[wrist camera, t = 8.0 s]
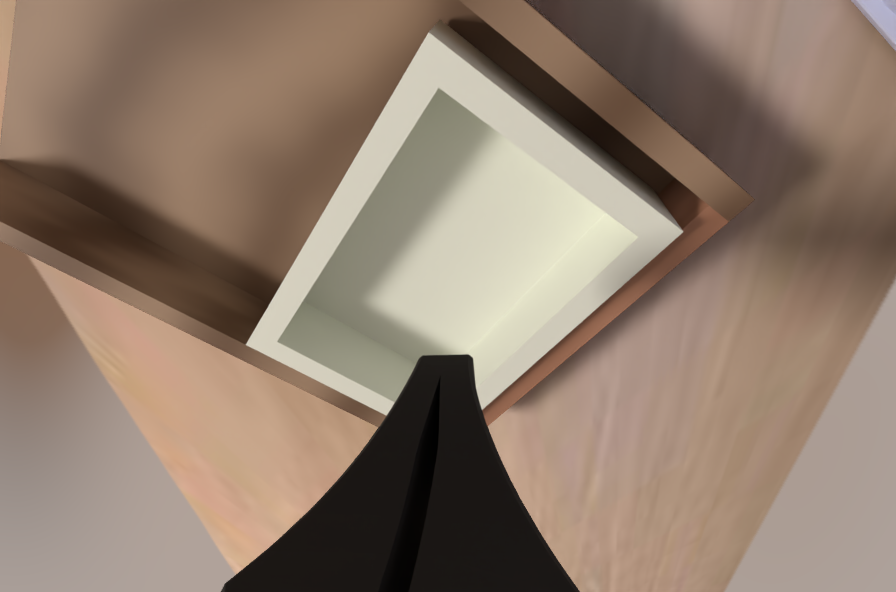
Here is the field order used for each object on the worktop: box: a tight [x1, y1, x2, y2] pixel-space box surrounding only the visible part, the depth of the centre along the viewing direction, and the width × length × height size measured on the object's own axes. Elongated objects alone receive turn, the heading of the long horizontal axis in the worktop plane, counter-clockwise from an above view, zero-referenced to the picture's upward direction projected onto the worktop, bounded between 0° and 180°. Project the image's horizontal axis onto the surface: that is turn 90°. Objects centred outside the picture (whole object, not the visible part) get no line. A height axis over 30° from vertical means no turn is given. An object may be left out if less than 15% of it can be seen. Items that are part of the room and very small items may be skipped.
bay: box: [0, 0, 755, 427], centre depth 19 cm, size 24×18×4 cm
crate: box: [246, 20, 683, 416], centre depth 19 cm, size 10×14×4 cm
